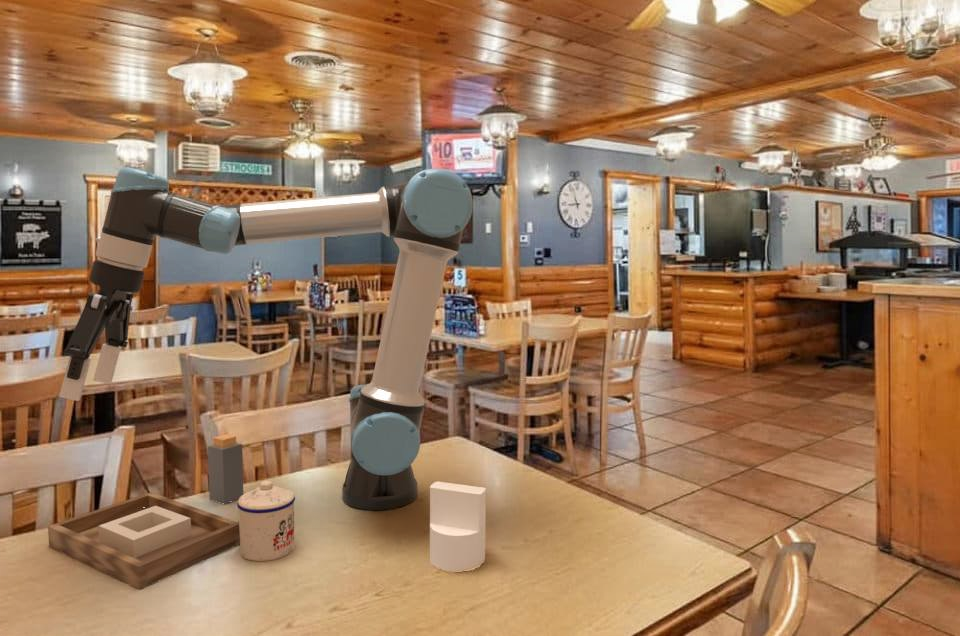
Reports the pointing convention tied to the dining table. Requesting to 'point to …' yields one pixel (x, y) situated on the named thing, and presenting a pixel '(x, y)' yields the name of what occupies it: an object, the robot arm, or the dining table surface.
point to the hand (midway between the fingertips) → (86, 390)
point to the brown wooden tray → (142, 571)
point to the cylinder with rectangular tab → (457, 526)
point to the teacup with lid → (266, 522)
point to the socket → (144, 531)
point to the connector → (225, 469)
